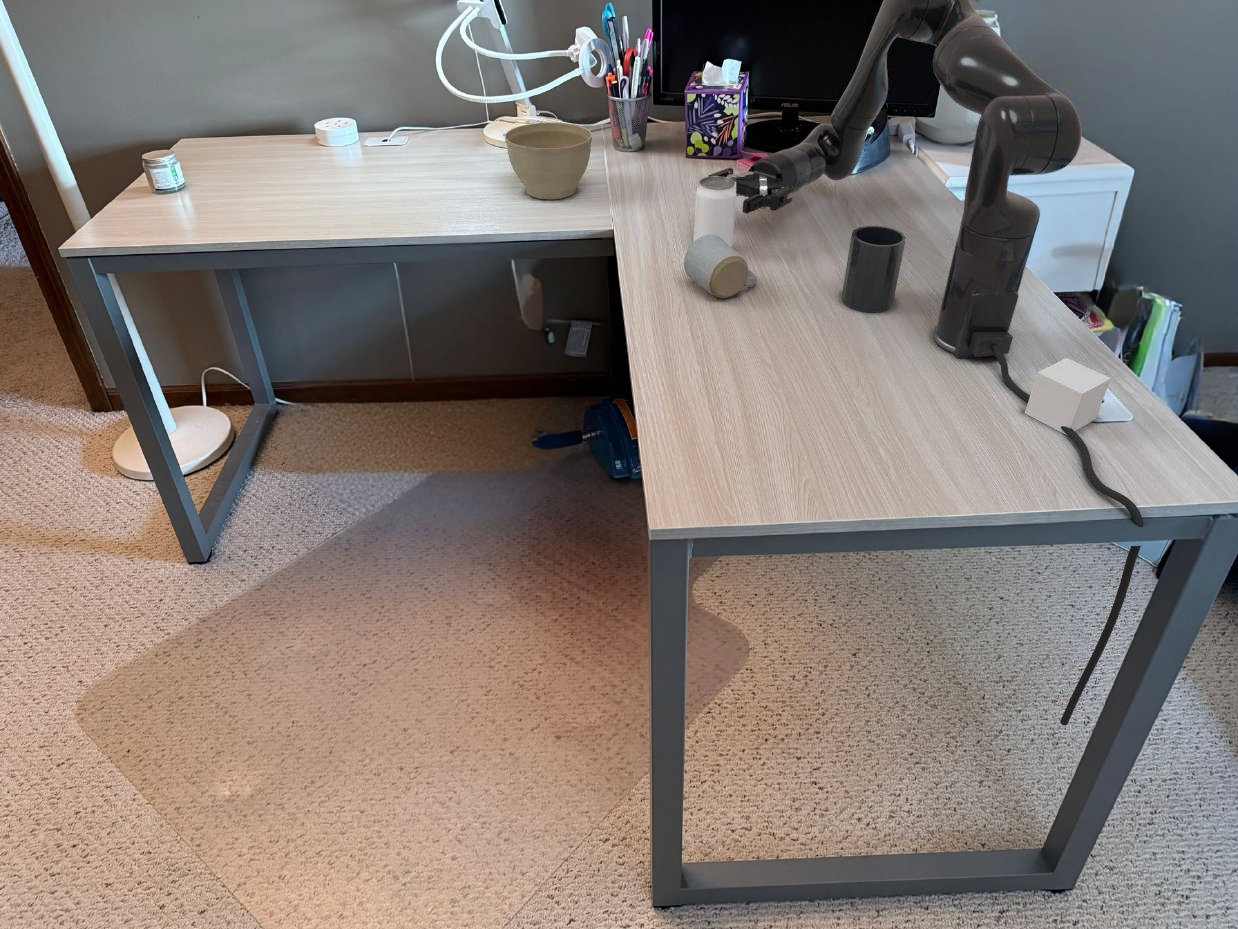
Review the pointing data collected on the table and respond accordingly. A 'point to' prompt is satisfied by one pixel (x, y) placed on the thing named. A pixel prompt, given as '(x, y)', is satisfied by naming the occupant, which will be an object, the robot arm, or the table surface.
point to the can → (715, 208)
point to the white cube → (1067, 395)
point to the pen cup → (873, 268)
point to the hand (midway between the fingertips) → (723, 200)
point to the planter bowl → (549, 157)
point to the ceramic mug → (717, 267)
